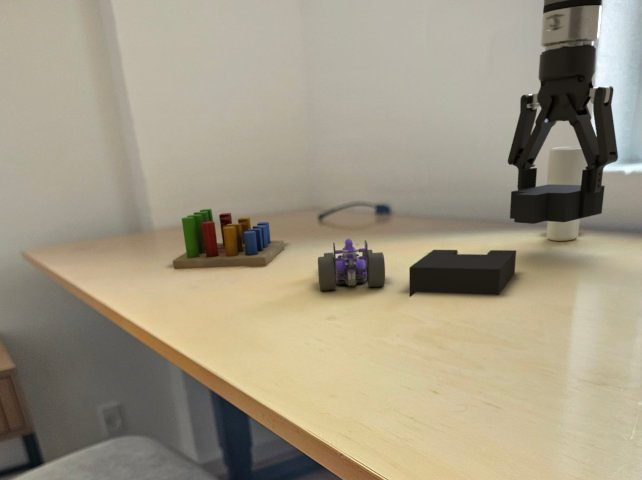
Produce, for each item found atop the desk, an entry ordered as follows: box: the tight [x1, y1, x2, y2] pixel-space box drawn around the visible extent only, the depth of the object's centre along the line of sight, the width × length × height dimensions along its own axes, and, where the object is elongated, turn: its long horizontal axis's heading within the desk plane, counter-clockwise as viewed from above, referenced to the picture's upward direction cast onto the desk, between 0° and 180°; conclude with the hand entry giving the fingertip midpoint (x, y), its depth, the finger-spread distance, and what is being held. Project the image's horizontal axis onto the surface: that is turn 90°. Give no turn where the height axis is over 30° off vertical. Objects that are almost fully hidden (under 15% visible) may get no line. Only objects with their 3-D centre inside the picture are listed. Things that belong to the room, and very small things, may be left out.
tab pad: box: [509, 184, 606, 225], centre depth 100 cm, size 10×12×4 cm
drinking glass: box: [545, 145, 588, 242], centre depth 115 cm, size 7×7×15 cm
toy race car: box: [317, 238, 386, 292], centre depth 100 cm, size 10×15×6 cm, turn 179°
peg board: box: [172, 208, 285, 270], centre depth 123 cm, size 18×17×9 cm
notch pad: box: [408, 249, 517, 297], centre depth 92 cm, size 12×12×4 cm
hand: (555, 214), depth 101 cm, fingers closed on tab pad, 10 cm apart
